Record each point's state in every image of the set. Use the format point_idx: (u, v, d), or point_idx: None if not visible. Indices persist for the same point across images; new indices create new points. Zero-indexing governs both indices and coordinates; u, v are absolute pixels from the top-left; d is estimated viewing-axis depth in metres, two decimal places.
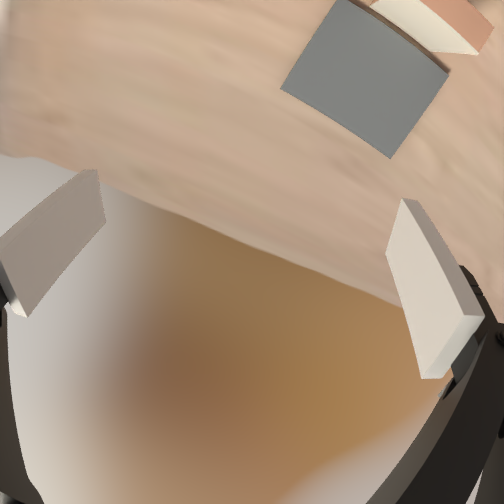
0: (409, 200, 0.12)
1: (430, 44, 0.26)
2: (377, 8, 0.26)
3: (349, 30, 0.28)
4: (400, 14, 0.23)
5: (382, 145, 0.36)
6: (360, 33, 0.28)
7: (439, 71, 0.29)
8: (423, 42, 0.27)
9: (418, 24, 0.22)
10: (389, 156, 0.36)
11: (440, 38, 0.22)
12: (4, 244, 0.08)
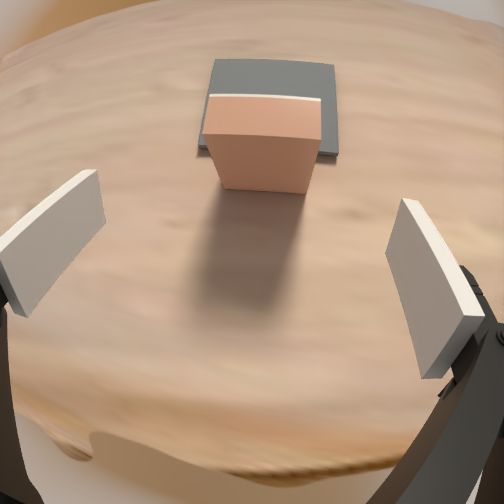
0: (409, 200, 0.12)
1: None
2: None
3: None
4: None
5: (227, 63, 0.38)
6: None
7: None
8: None
9: None
10: (216, 60, 0.38)
11: None
12: (4, 244, 0.08)
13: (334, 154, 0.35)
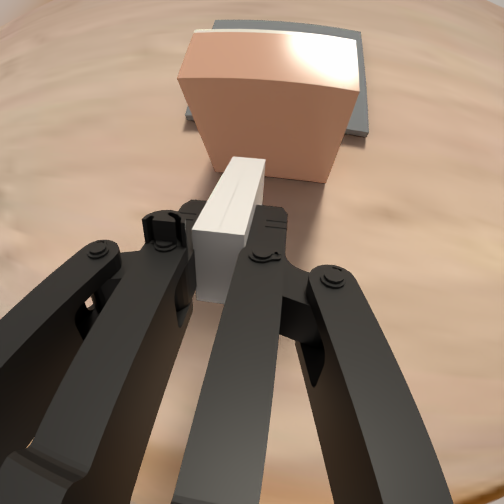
0: (255, 159, 0.14)
1: None
2: None
3: None
4: None
5: (230, 24, 0.28)
6: None
7: None
8: None
9: None
10: (217, 21, 0.29)
11: None
12: (215, 222, 0.09)
13: (362, 133, 0.25)
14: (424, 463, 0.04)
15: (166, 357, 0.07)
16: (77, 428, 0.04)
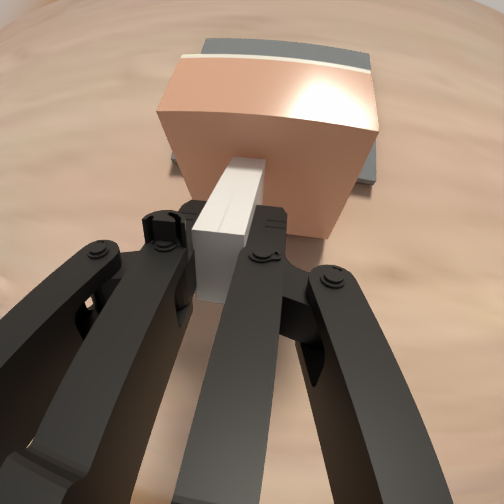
0: (255, 159, 0.14)
1: None
2: None
3: None
4: None
5: (223, 43, 0.26)
6: None
7: None
8: None
9: None
10: (208, 39, 0.26)
11: None
12: (215, 222, 0.09)
13: (369, 181, 0.23)
14: (424, 463, 0.04)
15: (166, 357, 0.07)
16: (77, 428, 0.04)
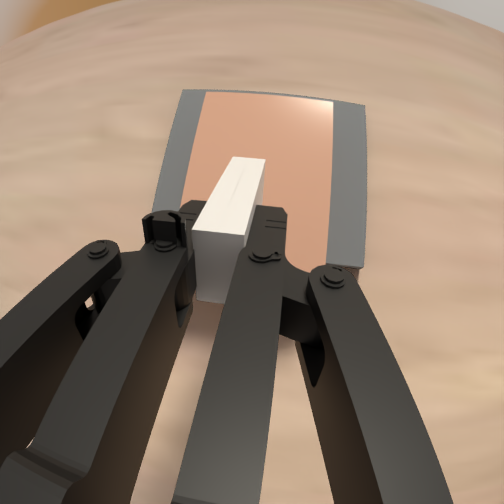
0: (255, 159, 0.14)
1: None
2: None
3: None
4: None
5: (201, 96, 0.25)
6: None
7: None
8: None
9: None
10: (185, 91, 0.26)
11: None
12: (215, 222, 0.09)
13: (356, 267, 0.23)
14: (424, 463, 0.04)
15: (166, 357, 0.07)
16: (77, 428, 0.04)
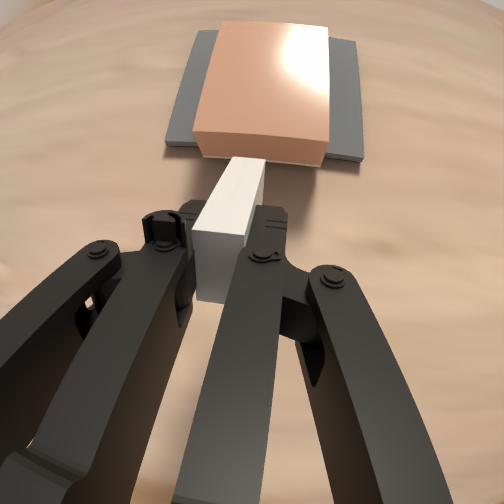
0: (255, 159, 0.14)
1: None
2: None
3: None
4: None
5: (214, 35, 0.27)
6: None
7: (181, 136, 0.25)
8: None
9: None
10: (200, 31, 0.27)
11: None
12: (215, 222, 0.09)
13: (357, 159, 0.24)
14: (424, 463, 0.04)
15: (166, 357, 0.07)
16: (77, 428, 0.04)
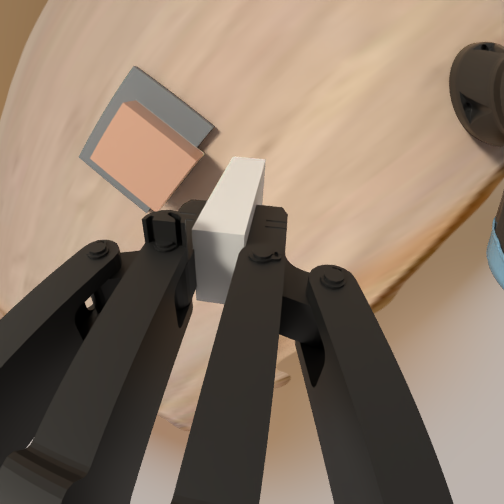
0: (255, 159, 0.14)
1: None
2: None
3: (178, 129, 0.39)
4: None
5: (87, 150, 0.41)
6: None
7: None
8: None
9: None
10: (80, 156, 0.41)
11: None
12: (214, 222, 0.09)
13: (211, 129, 0.39)
14: (424, 463, 0.04)
15: (166, 357, 0.07)
16: (77, 428, 0.04)
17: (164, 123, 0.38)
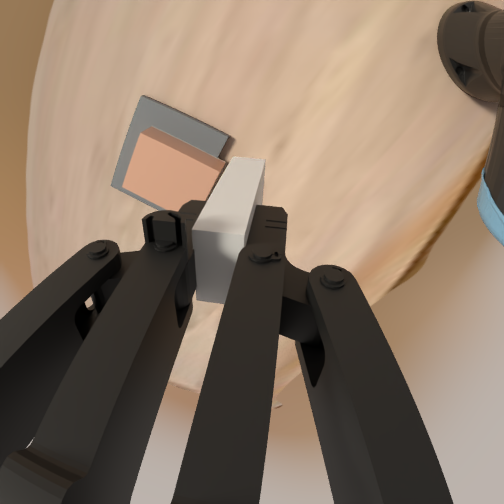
0: (255, 159, 0.14)
1: None
2: None
3: (197, 144, 0.43)
4: None
5: (117, 178, 0.47)
6: None
7: None
8: None
9: None
10: (112, 184, 0.48)
11: None
12: (215, 222, 0.09)
13: None
14: (424, 463, 0.04)
15: (166, 357, 0.07)
16: (77, 428, 0.04)
17: (183, 142, 0.42)
